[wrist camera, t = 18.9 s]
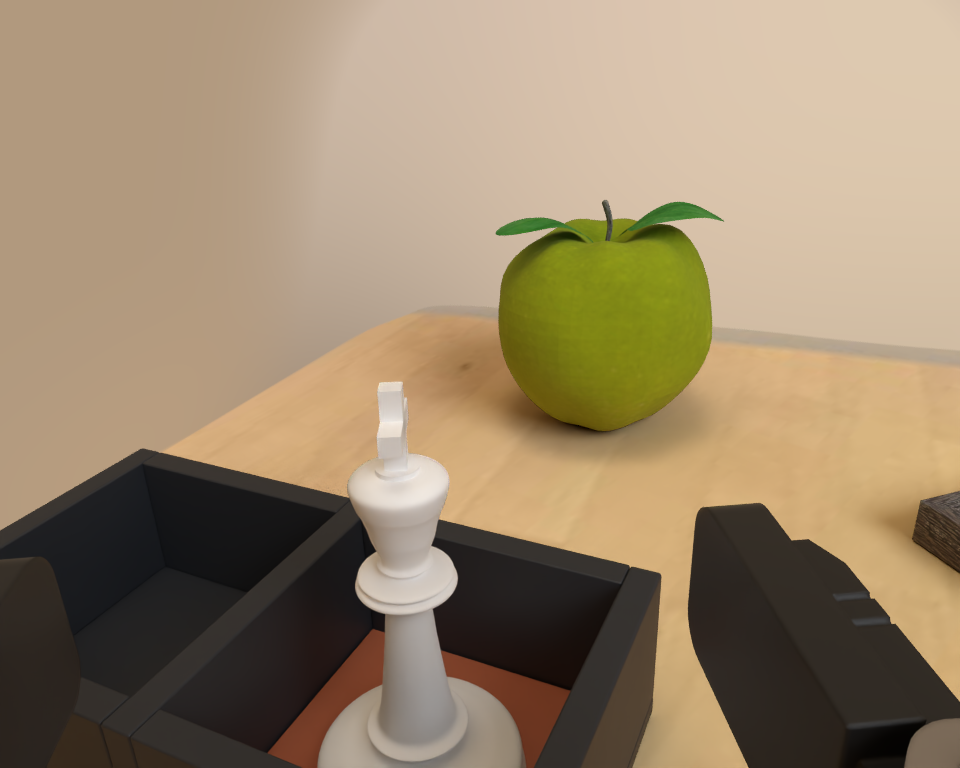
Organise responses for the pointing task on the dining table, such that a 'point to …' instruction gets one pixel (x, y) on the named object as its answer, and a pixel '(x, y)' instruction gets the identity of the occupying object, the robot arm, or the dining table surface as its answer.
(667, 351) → the fruit
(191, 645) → the caddy
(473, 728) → the chess piece
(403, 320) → the dining table surface
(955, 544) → the picture frame
